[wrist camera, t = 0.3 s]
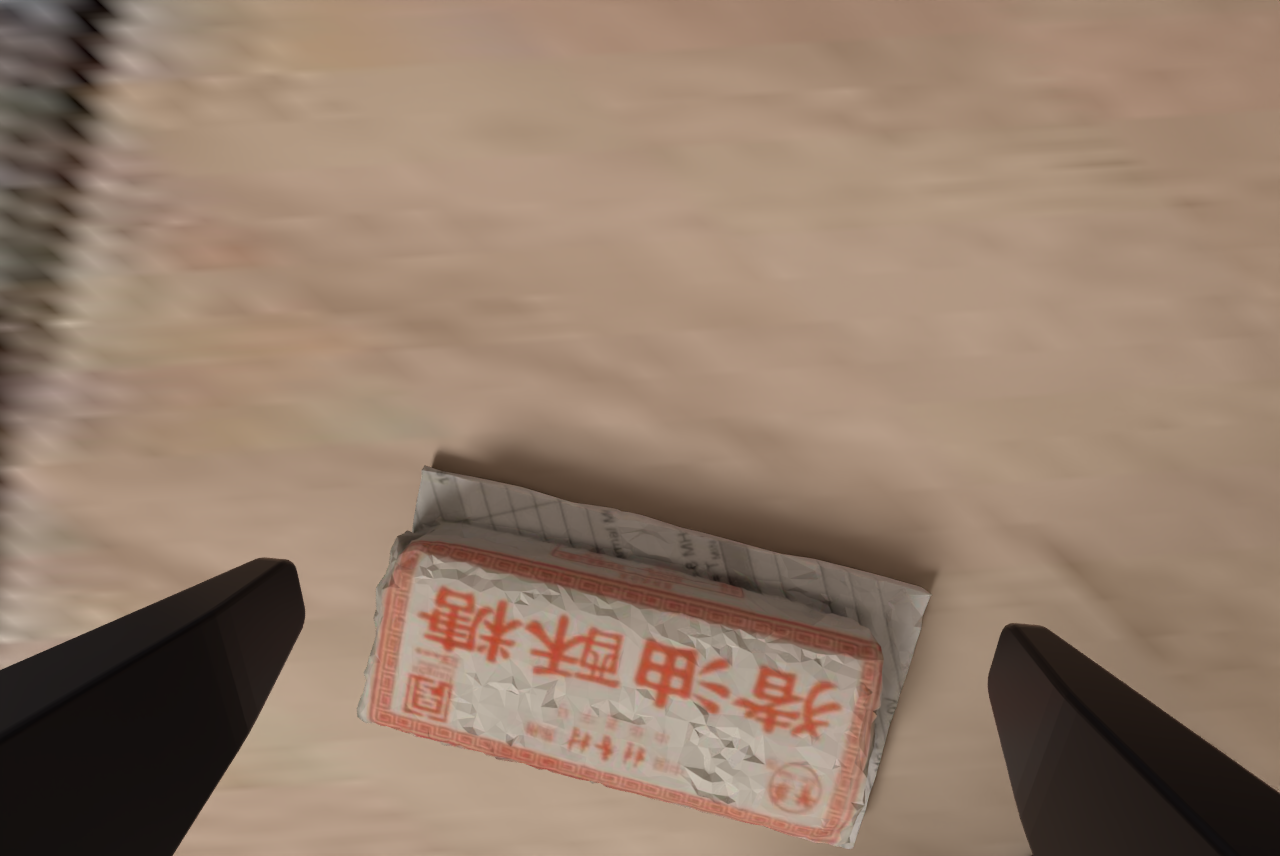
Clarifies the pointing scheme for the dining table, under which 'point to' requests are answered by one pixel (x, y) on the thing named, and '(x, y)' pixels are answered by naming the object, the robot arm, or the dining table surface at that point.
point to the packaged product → (641, 655)
